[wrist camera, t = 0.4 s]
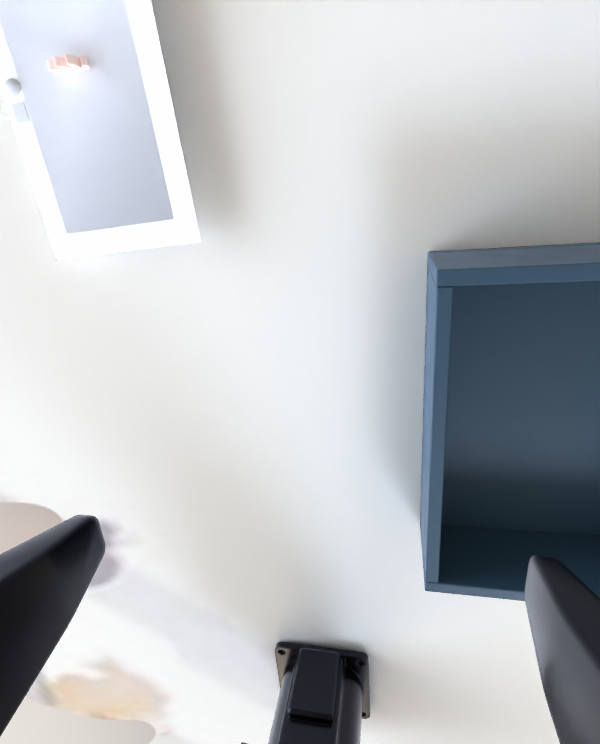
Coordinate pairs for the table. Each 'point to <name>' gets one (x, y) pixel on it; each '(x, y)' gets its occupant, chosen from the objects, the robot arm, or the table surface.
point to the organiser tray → (511, 417)
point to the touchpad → (96, 124)
